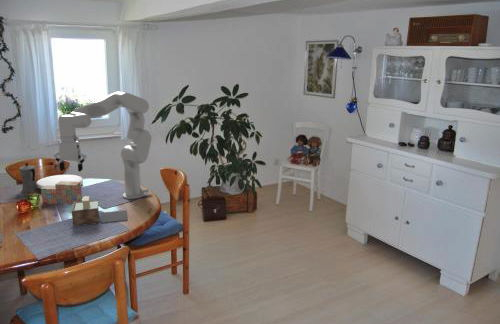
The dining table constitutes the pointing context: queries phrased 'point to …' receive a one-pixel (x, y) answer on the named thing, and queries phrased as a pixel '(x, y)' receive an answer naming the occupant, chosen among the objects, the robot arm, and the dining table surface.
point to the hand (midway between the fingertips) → (71, 170)
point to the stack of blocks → (62, 193)
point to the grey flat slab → (114, 216)
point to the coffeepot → (28, 178)
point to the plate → (57, 180)
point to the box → (85, 215)
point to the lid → (86, 204)
